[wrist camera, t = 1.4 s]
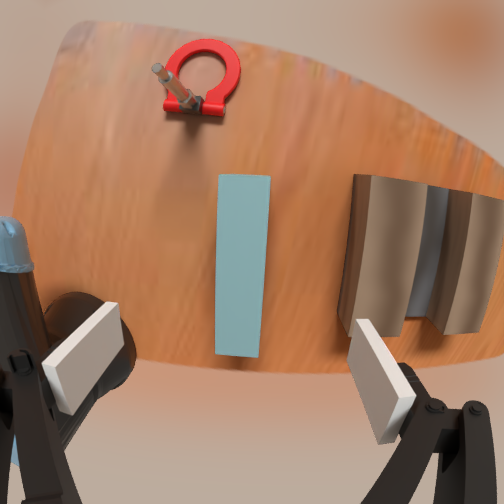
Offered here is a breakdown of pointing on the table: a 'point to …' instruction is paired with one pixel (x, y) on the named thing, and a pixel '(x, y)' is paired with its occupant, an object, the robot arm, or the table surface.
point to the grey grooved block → (419, 256)
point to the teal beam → (240, 262)
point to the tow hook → (183, 97)
